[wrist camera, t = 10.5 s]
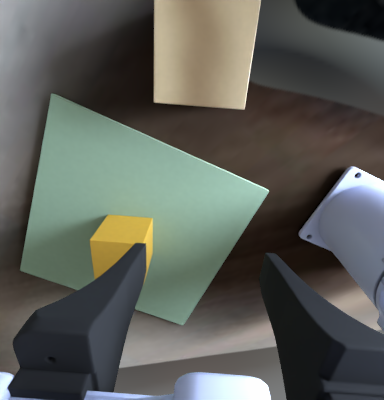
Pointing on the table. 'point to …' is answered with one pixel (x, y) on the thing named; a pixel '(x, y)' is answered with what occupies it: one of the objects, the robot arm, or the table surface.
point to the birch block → (204, 51)
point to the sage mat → (132, 207)
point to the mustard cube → (119, 240)
